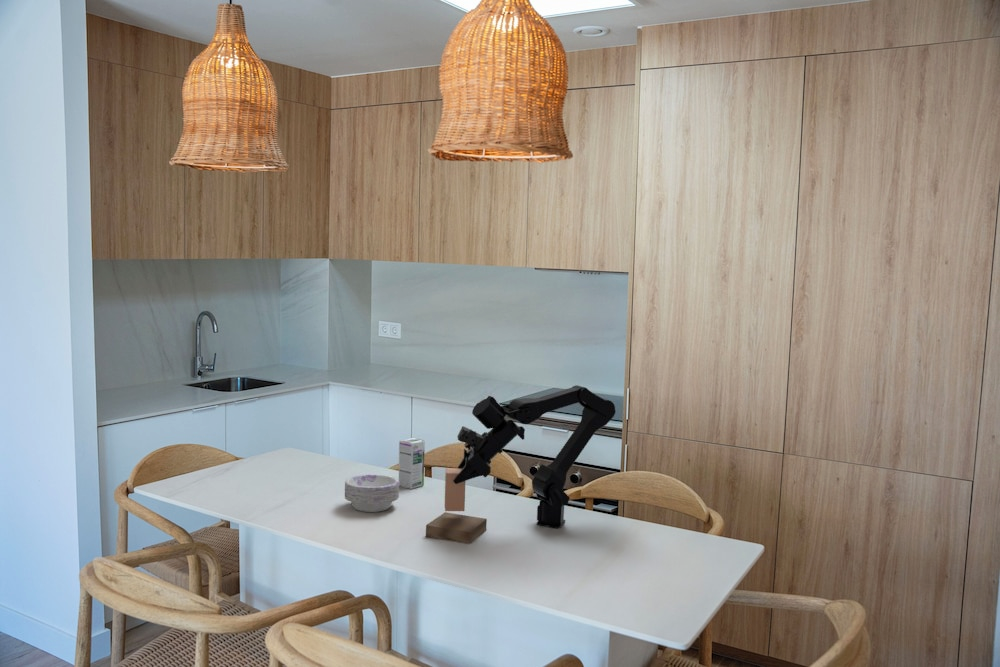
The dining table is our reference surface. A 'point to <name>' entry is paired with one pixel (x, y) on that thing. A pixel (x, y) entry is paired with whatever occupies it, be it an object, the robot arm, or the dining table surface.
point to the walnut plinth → (456, 527)
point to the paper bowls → (371, 492)
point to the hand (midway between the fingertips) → (453, 479)
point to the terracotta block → (454, 491)
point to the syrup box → (411, 463)
